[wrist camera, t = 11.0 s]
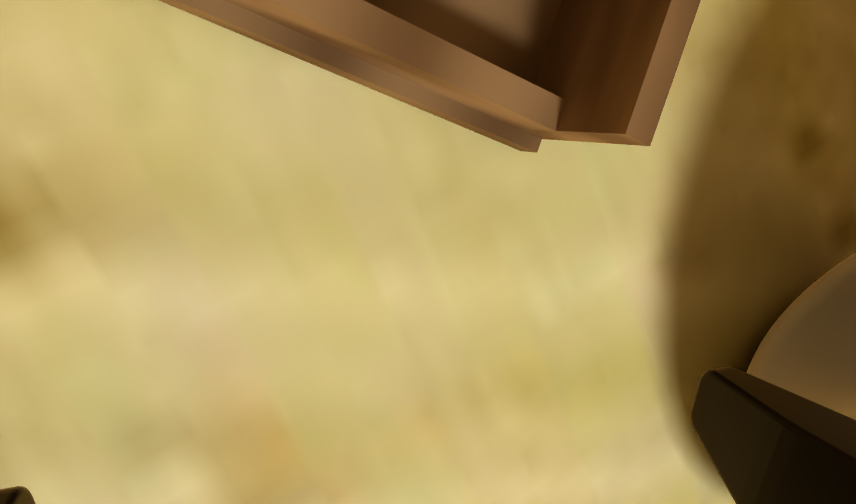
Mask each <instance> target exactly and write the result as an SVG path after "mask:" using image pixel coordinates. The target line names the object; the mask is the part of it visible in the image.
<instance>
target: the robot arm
mask: <svg viewBox="0 0 856 504" xmlns="http://www.w3.org/2000/svg"><path fill="white" fill-rule="evenodd" d="M691 420H692V424H693V427H694V429H695V431H696V433H697V435H698V436H699V438H700V440H701V442H702V444H703V445H704V447H705V449H706V451H707V453H708V454H709V456H710V458H711V460H712V462H713V463H714V465H715V467H716V469H717V470H718V472H719V474H720V476H721V478H722V479H723V481H724V483H725V485H726V487H727V488H728V490H729V492H730V494H731V496H732V497H733V499H734V501H735V503H736V504H856V420H855V419H852V418H850V417H848V416H845V415H843V414H841V413H839V412H836V411H834V410H832V409H829V408H827V407H825V406H822V405H820V404H818V403H815V402H813V401H811V400H808V399H806V398H804V397H802V396H799V395H797V394H795V393H792V392H790V391H788V390H785V389H783V388H781V387H778V386H776V385H774V384H772V383H769V382H767V381H765V380H762V379H760V378H758V377H755V376H753V375H751V374H748V373H746V372H744V371H741V370H739V369H737V368H734V367H722V368H716V369H710V370H707V371H705V372H704V373H703V374H702V375H701V378H700V381H699V384H698V388H697V392H696V395H695V399H694V403H693V406H692V410H691ZM0 504H35V501H34V499H33V497H32V495H31V493H30V491H29V490H28V489H27V488H25V487H20V486H17V487H11V488H5V489H0Z"/></svg>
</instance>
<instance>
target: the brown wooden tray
mask: <svg viewBox="0 0 856 504" xmlns="http://www.w3.org/2000/svg"><path fill="white" fill-rule="evenodd" d="M160 1H162V2H164V3H167V4H169V5H172V6H174V7H176V8H179V9H181V10H184V11H186V12H188V13H191V14H193V15H196V16H198V17H200V18H203V19H205V20H208V21H210V22H212V23H215V24H217V25H220V26H222V27H224V28H227V29H229V30H232V31H234V32H236V33H239V34H241V35H244V36H246V37H248V38H251V39H253V40H256V41H258V42H260V43H263V44H265V45H268V46H270V47H273V48H275V49H277V50H280V51H282V52H285V53H287V54H289V55H292V56H294V57H297V58H299V59H301V60H304V61H306V62H309V63H311V64H313V65H316V66H318V67H321V68H323V69H325V70H328V71H330V72H333V73H335V74H337V75H340V76H342V77H345V78H347V79H349V80H352V81H354V82H357V83H359V84H361V85H364V86H366V87H369V88H371V89H373V90H376V91H378V92H381V93H383V94H385V95H388V96H390V97H393V98H395V99H397V100H400V101H402V102H405V103H407V104H409V105H412V106H414V107H417V108H419V109H421V110H424V111H426V112H429V113H431V114H433V115H436V116H438V117H441V118H443V119H445V120H448V121H450V122H453V123H455V124H457V125H460V126H462V127H465V128H467V129H469V130H472V131H474V132H477V133H479V134H481V135H484V136H486V137H489V138H491V139H493V140H496V141H498V142H501V143H503V144H505V145H508V146H510V147H513V148H515V149H517V150H520V151H527V152H537V151H538V148H539V145H540V142H541V139H551V140H566V141H582V142H597V143H612V144H627V145H643V146H650V145H651V142H652V139H653V136H654V133H655V130H656V127H657V125H658V122H659V119H660V116H661V113H662V110H663V107H664V104H665V101H666V99H667V96H668V93H669V90H670V87H671V84H672V81H673V78H674V75H675V73H676V70H677V67H678V64H679V61H680V58H681V55H682V52H683V49H684V47H685V44H686V41H687V38H688V35H689V32H690V29H691V26H692V24H693V21H694V18H695V15H696V12H697V9H698V6H699V3H700V0H160Z"/></svg>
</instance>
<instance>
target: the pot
mask: <svg viewBox="0 0 856 504" xmlns="http://www.w3.org/2000/svg"><path fill="white" fill-rule="evenodd" d="M746 373H748V374H751V375H753V376H755V377H758V378H760V379H762V380H765V381H767V382H769V383H772V384H774V385H776V386H778V387H781V388H783V389H785V390H788V391H790V392H792V393H795V394H797V395H799V396H802V397H804V398H806V399H808V400H811V401H813V402H815V403H818V404H820V405H822V406H825V407H827V408H829V409H832V410H834V411H836V412H839V413H841V414H843V415H845V416H848V417H850V418H852V419H855V420H856V253H854V254H852V255H851V256H849V257H848V258H846V259H845V260H843V261H842V262H840V263H839V264H837V265H836V266H834V267H833V268H832V269H830V270H829V271H828V272H826V273H825V274H824V275H823V276H821V277H820V278H819V279H818V280H816V281H815V282H814V283H813V284H812V285H811V286H809V287H808V288H807V289H806V290H805V291H804V292H803V293H802V294H801V295H800V296H799V297H798V298H797V299H796V300H795V301H794V302H793V303H792V304H791V305H790V306H789V307H788V308H787V309H786V310H785V311H784V312H783V313H782V315H781V316H780V317H779V318H778V319H777V321H776V322H775V323H774V324H773V326H772V327H771V328H770V330H769V331H768V333H767V334H766V336H765V337H764V339H763V340H762V342H761V344H760V345H759V347H758V349H757V351H756V353H755V355H754V357H753V359H752V361H751V363H750V365H749V368H748V370H747V372H746Z"/></svg>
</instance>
